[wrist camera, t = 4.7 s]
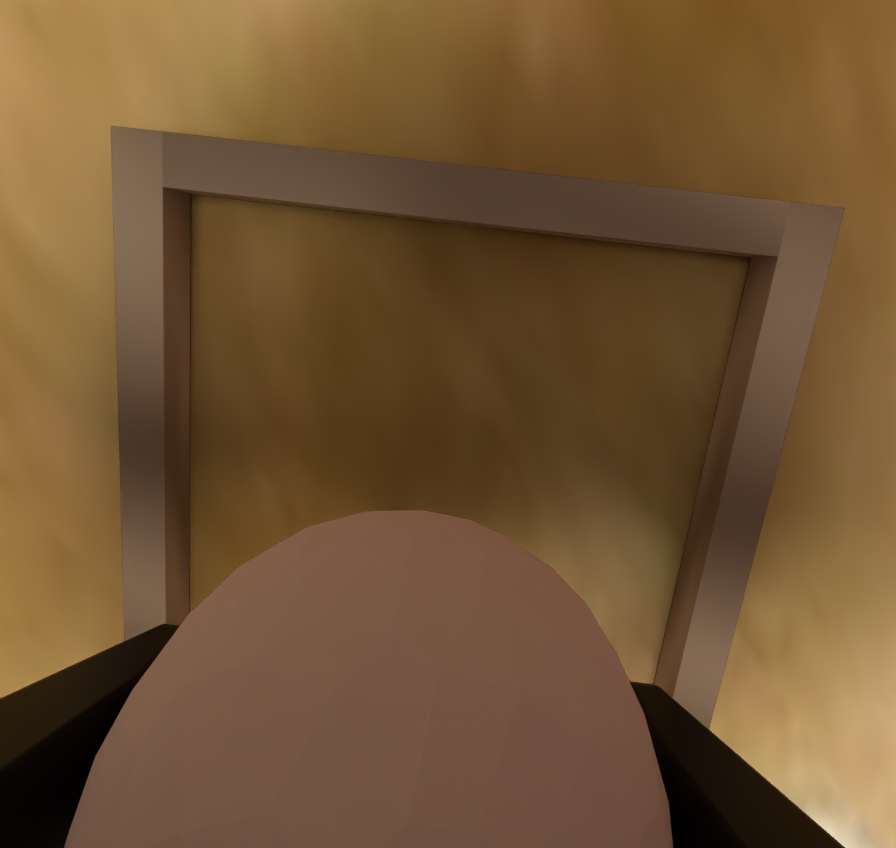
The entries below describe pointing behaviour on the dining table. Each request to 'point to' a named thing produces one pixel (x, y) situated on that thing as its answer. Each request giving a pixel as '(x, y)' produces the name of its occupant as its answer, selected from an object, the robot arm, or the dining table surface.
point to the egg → (381, 707)
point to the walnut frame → (483, 205)
